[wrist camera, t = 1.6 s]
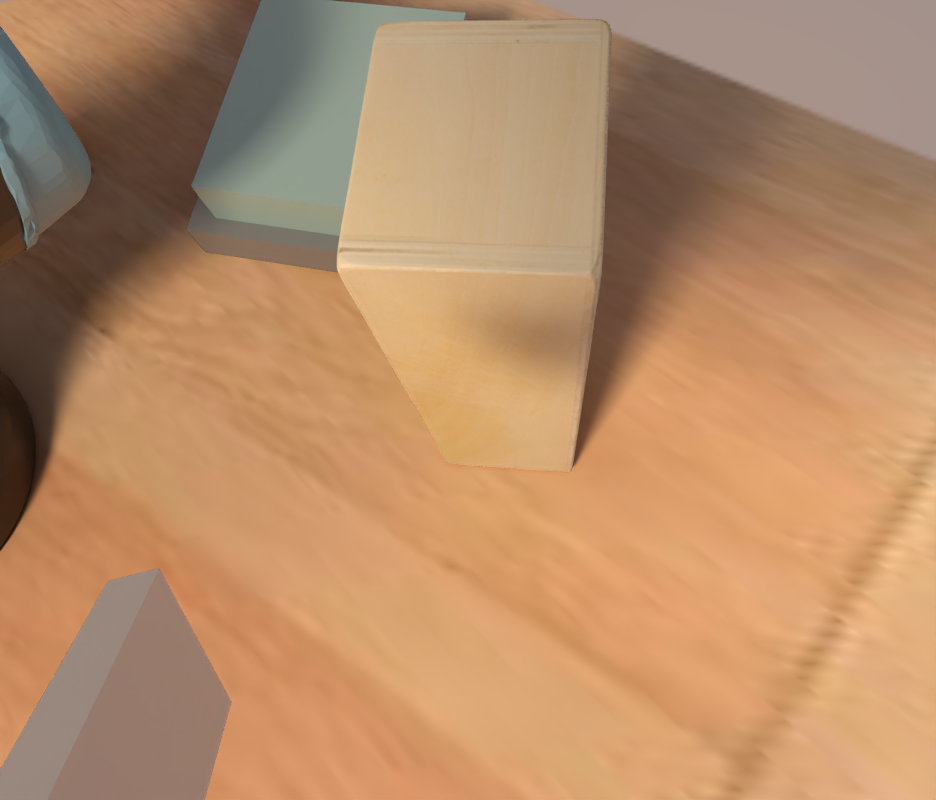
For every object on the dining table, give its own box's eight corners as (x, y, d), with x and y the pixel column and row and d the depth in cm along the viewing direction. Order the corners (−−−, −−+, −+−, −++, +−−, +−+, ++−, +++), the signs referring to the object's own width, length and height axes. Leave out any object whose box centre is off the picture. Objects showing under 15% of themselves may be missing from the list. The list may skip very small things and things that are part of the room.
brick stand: (205, 251, 43) (158, 199, 37) (277, 51, 47) (244, -22, 42) (448, 289, 40) (435, 238, 35) (501, 74, 45) (496, 0, 39)
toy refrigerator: (446, 323, 40) (351, 14, 20) (580, 330, 39) (620, 14, 19) (430, 463, 37) (303, 272, 17) (572, 474, 36) (609, 285, 17)
